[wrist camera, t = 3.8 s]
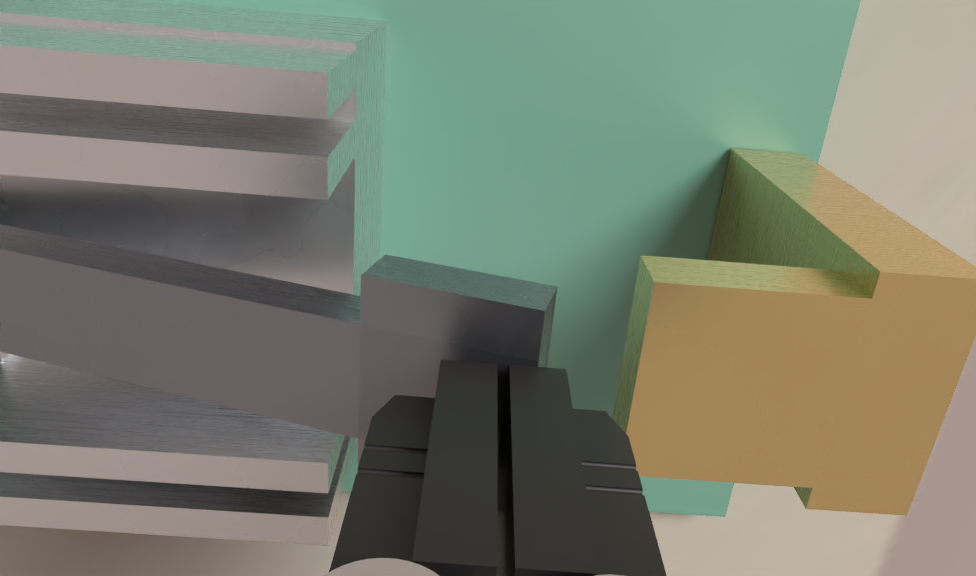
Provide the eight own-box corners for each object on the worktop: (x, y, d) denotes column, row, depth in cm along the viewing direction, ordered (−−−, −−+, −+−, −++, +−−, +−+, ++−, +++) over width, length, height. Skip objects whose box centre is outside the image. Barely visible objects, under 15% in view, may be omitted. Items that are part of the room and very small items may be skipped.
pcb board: (-374, -276, 14) (-433, -291, 14) (877, -155, 15) (903, -161, 14) (-156, 435, 21) (-185, 457, 20) (714, 492, 22) (724, 516, 21)
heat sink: (-92, -21, 15) (-448, -1, 9) (386, 20, 16) (327, 64, 10) (-17, 335, 19) (-249, 513, 13) (377, 363, 19) (328, 550, 13)
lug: (593, 136, 17) (659, 254, 10) (802, 153, 17) (996, 281, 10) (569, 304, 18) (614, 496, 12) (761, 318, 18) (906, 515, 12)
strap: (-180, 146, 13) (-247, 159, 12) (559, 283, 10) (543, 314, 9) (-133, 319, 14) (-190, 342, 13) (533, 481, 11) (516, 525, 10)
